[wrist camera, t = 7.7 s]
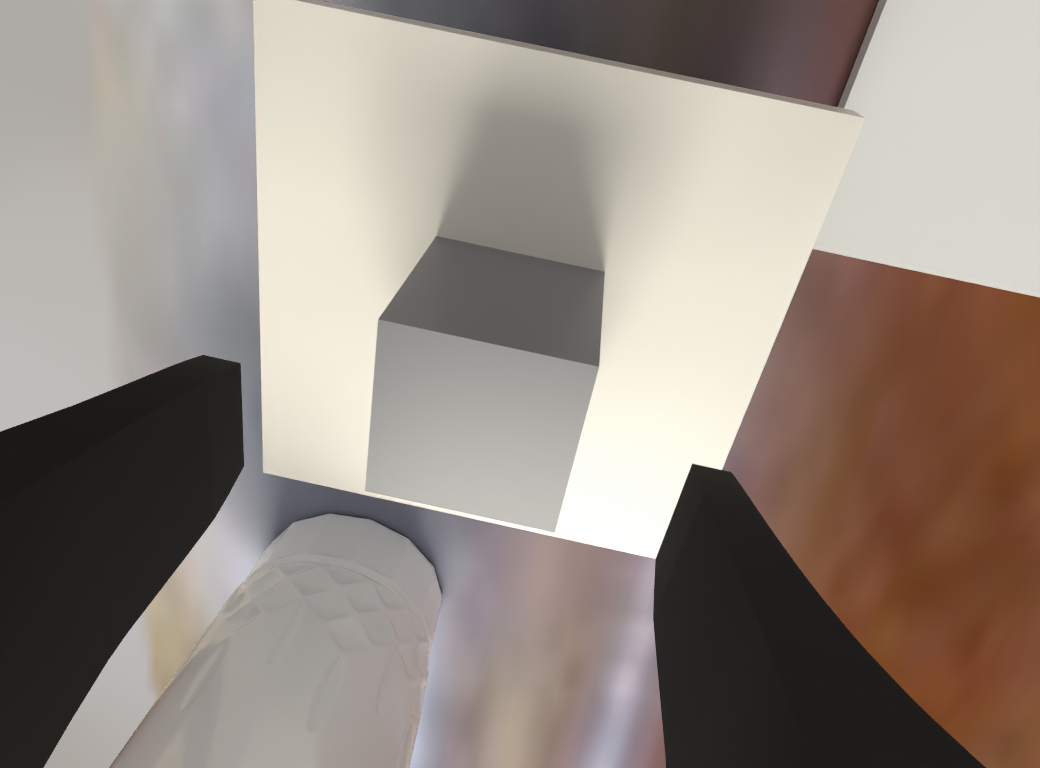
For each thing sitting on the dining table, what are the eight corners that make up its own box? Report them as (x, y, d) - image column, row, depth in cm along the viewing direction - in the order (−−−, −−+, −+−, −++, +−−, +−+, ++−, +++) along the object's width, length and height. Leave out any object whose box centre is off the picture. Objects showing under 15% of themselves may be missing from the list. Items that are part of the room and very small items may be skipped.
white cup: (266, 470, 24) (73, 740, 16) (482, 540, 25) (409, 841, 16) (243, 615, 28) (81, 893, 20) (430, 673, 29) (349, 971, 20)
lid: (852, 110, 13) (959, 175, 9) (680, 542, 19) (697, 704, 15) (272, -10, 13) (113, 0, 9) (276, 454, 19) (180, 589, 15)
